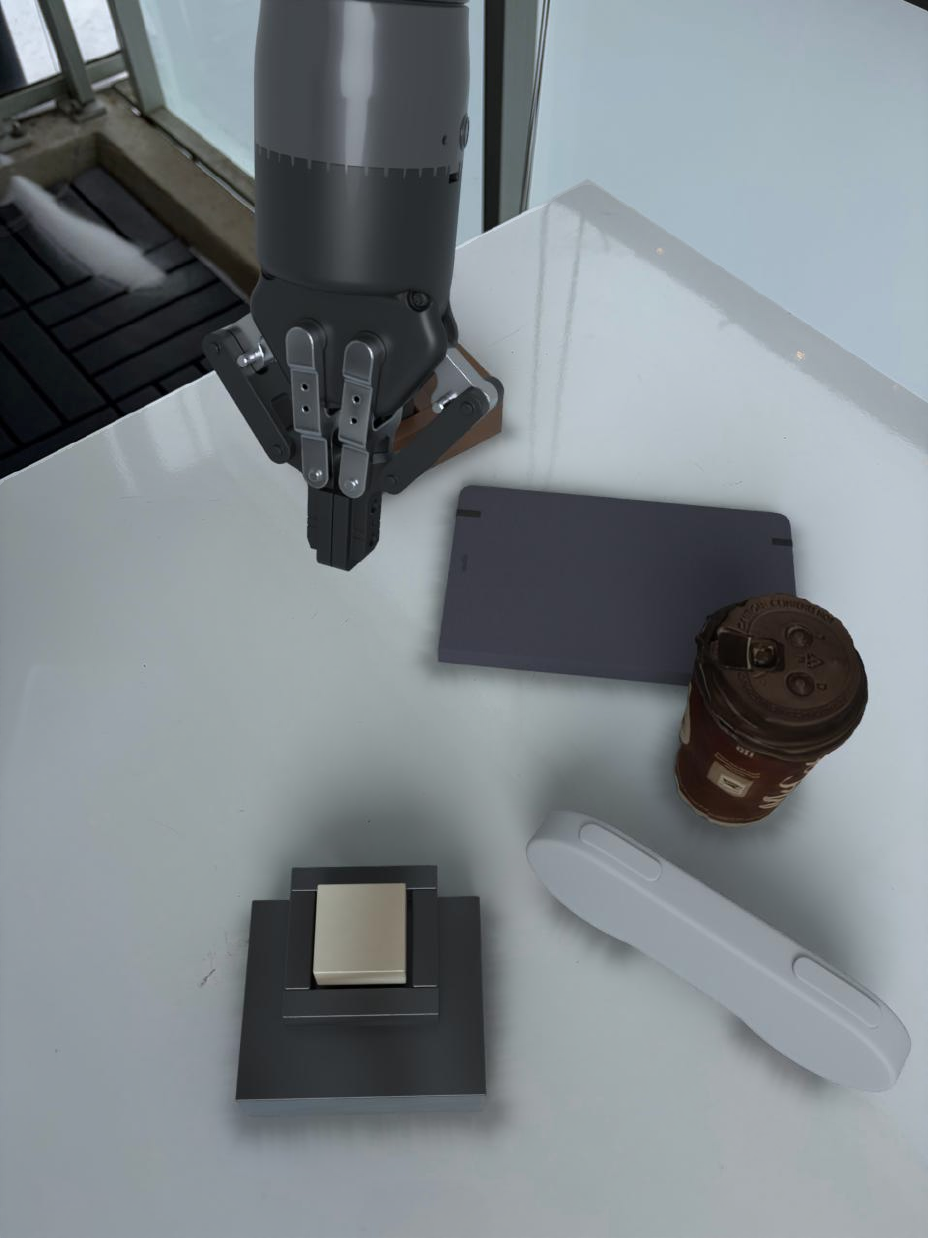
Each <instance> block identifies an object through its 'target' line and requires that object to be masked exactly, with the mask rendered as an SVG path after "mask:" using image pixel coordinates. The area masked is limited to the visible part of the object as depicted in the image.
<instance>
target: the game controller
mask: <svg viewBox="0 0 928 1238" xmlns="http://www.w3.org/2000/svg"><path fill="white" fill-rule="evenodd" d="M525 856H526V861H527V863H528V865H529V868H530V869H531V871H532V872H533V874H534V875H535V877H536V878H537V880H538V881H539V882H540V883H541V884H542V885H543V887H544V888H545V889H546V890H547V891H548V892H549V893H550V894H551V895H552V896H553V897H554V898H555V899H556V900H557V901H559V902H560V903H561V904H562V905H563V906H564V907H566V908H567V909H568V910H569V911H571V912H572V913H573V914H575V915H576V916H577V917H579V918H580V919H582V921H584V922H585V923H588V925H591V926H592V927H594V928H595V929H597V930H599V931H600V932H603V933H605V934H607V935H608V936H611V937H612V938H615V939H617V940H619V941H621V942H623V943H626V944H629V945H630V946H632V947H634V948H635V949H637V950H638V951H640V952H641V953H643V954H644V955H646V956H647V957H649V959H652V960H654V961H655V962H657V963H658V964H659V965H661V966H662V967H664V968H665V969H666V970H668V971H669V972H671V973H673V974H674V975H676V976H677V977H679V978H681V980H683V981H685V982H686V983H688V984H689V985H690V986H692V987H693V988H695V989H696V990H697V991H699V992H701V993H702V994H704V995H705V996H707V997H708V998H710V999H711V1000H713V1001H714V1002H716V1003H717V1004H719V1005H720V1006H722V1007H723V1008H725V1009H726V1010H728V1012H731V1013H732V1014H733V1015H735V1016H736V1017H737V1018H739V1019H740V1020H741V1021H742V1022H744V1024H746V1026H747V1027H748V1028H750V1029H751V1031H753V1032H754V1033H755V1034H756V1035H757V1037H758V1036H759V1038H761V1039H762V1041H763V1042H765V1043H766V1044H768V1045H769V1046H770V1047H772V1048H773V1049H774V1050H776V1051H778V1052H779V1053H780V1054H781V1055H783V1056H785V1057H786V1058H787V1059H789V1060H791V1061H792V1062H794V1063H796V1064H797V1065H799V1066H801V1068H804V1069H805V1070H808V1071H809V1072H812V1073H813V1074H815V1075H816V1076H819V1077H822V1078H824V1079H826V1080H827V1081H830V1082H833V1083H835V1084H838V1085H839V1086H842V1087H846V1088H849V1089H851V1090H852V1089H853V1090H856V1091H861V1092H866V1093H885V1092H888V1091H890V1090H891V1089H892V1088H894V1087H895V1085H897V1083H898V1080H899V1078H900V1077H901V1073H902V1071H903V1069H904V1067H905V1064H906V1062H907V1060H908V1058H909V1055H910V1053H911V1050H912V1041H911V1037H910V1034H909V1031H908V1029H907V1028H906V1026H905V1025H904V1023H903V1022H902V1020H901V1019H900V1017H898V1015H897V1014H896V1013H895V1012H894V1010H893V1009H891V1008H890V1006H889V1005H888V1004H886V1002H885V1001H883V1000H882V999H881V998H880V997H879V996H877V995H876V994H875V993H874V992H872V991H871V989H869V988H867V987H866V986H864V985H863V984H862V983H860V982H859V981H857V980H855V978H852V977H851V976H850V975H848V974H847V973H845V972H843V971H842V970H841V969H839V968H837V967H836V966H834V965H833V964H831V963H829V962H828V961H826V960H825V959H823V958H822V957H821V956H819V955H817V954H816V953H814V952H812V951H811V950H810V949H807V948H806V947H805V946H803V945H802V944H800V943H799V942H797V941H795V940H793V939H792V938H791V937H789V936H788V935H786V934H784V933H783V932H781V931H780V930H778V929H776V928H775V927H773V926H772V925H770V924H769V923H768V922H766V921H764V920H762V919H761V918H759V917H758V916H756V915H755V914H753V913H752V912H750V911H748V910H747V909H746V908H744V907H742V906H741V905H739V904H737V903H736V902H734V901H733V900H731V899H730V898H728V897H726V896H725V895H723V894H721V893H720V892H719V891H717V890H716V889H714V888H712V887H710V886H709V885H708V884H706V883H704V882H702V881H701V880H700V879H699V878H697V877H695V876H693V875H692V874H690V873H689V872H687V871H686V870H684V869H682V868H681V867H679V866H677V865H676V864H674V863H673V862H671V861H670V860H668V859H667V858H665V857H663V856H661V854H658V853H657V852H655V851H653V849H651V848H649V847H647V845H645V844H643V843H642V842H639V841H638V840H636V839H635V838H633V837H631V836H630V835H628V834H627V833H625V832H623V831H622V830H621V829H618V828H617V827H616V826H614V825H612V824H610V823H608V822H606V821H604V820H602V819H600V818H597V817H594V816H592V815H589V814H586V813H582V812H579V811H575V810H565V809H563V810H561V809H560V810H555V811H553V812H550V813H549V814H547V815H546V817H545V818H544V819H543V820H542V822H541V823H540V824H539V826H538V828H537V829H536V830H535V831H534V833H533V834H532V836H531V837H530V839H528V842H527V844H526V846H525Z"/></svg>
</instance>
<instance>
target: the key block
mask: <svg viewBox="0 0 928 1238" xmlns="http://www.w3.org/2000/svg"><path fill="white" fill-rule="evenodd" d="M378 883H405V884H406V895H407V955H406V983H405V984H364V985H318V984H317V981H316V979H315V976H314V973H313V965H314V946H315V927H316V907H317V888H318V885H320V884H378ZM438 888H439V887H438V865H437V864H412V865H354V866H353V865H352V866H351V865H349V866H348V865H347V866H346V865H345V866H344V865H343V866H342V865H341V866H294V867H292V868H291V874H290V888H289V889H290V890H289V891H290V893H289V899H252V901H251V907H250V908H251V909H250V920H249V921H250V922H249V933H248V943H247V944H248V945H247V954H246V955H247V957H246V966H245V967H246V968H245V978H244V979H245V980H244V991H243V1003H242V1014H241V1015H242V1016H241V1027H240V1039H239V1050H238V1062H237V1072H236V1073H237V1074H236V1084H235V1085H236V1086H235V1097H234V1098H235V1099H234V1100H235V1102H236V1103H237V1104H238V1106H239V1107H240V1108H241V1109H242V1110H243V1111H244V1112H245V1114H247V1115H248V1117H251V1118H254V1117H255V1118H256V1117H258V1118H259V1117H292V1116H295V1117H296V1116H297V1117H298V1116H336V1115H337V1116H340V1115H341V1116H342V1115H343V1116H344V1115H345V1116H346V1115H381V1114H382V1115H384V1114H387V1115H388V1114H428V1113H429V1114H430V1113H467V1112H469V1113H470V1112H474V1113H475V1112H483V1111H484V1108H485V1103H486V1097H487V1074H486V1044H485V1043H486V1041H485V1012H484V1011H485V1010H484V983H483V954H482V953H483V952H482V951H483V950H482V925H481V924H482V923H481V922H482V921H481V896H479V895H472V896H471V895H469V896H467V895H466V896H465V895H463V896H438V894H439V890H438Z"/></svg>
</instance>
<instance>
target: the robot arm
mask: <svg viewBox="0 0 928 1238" xmlns="http://www.w3.org/2000/svg"><path fill="white" fill-rule="evenodd" d="M470 1H471V0H260V4H259V13H258V23H257V31H256V38H255V45H254V46H255V47H254V59H253V60H254V61H253V63H254V64H253V135H254V137H253V141H254V142H253V145H254V146H253V147H254V148H253V149H254V150H253V151H254V158H253V159H254V164H253V165H254V254H255V257H256V260H257V262H258V265H260V273H259V277H258V281H257V283H256V285H255V287H254V289H253V290H252V292H251V295H250V299H249V311H250V312H249V313H248V314H246V315H244V316H242V317H241V318H240V319H238V320H237V321H235V322H233V323H231V324H228V325H226V326H223V327H221V328H219V329H217V330H214V331H212V332H210V333H208V334H206V335H205V336H204V337H203V339H202V342H201V348H202V352H203V354H204V356H205V357H206V359H207V361H208V362H209V364H210V366H211V367H212V368H213V370H214V372H215V373H216V374H217V376H218V379H219V380H220V382H221V383H222V385H223V386H224V388H225V390H226V391H227V393H228V394H229V397H231V400H232V401H233V402H234V404H235V406H236V408H237V409H238V411H239V412H240V414H241V416H242V417H243V419H244V420H245V422H246V424H247V425H248V427H249V429H250V431H251V432H252V434H253V435H254V437H255V438H256V440H257V441H258V443H259V444H260V447H261V448H262V450H263V451H264V453H265V455H266V456H267V457H268V459H269V460H270V461H271V462H273V463H275V464H277V465H283V464H288V465H290V466H291V467H293V468H294V469H296V470H298V471H299V472H300V473H301V474H302V477H303V480H304V481H305V483H306V484H307V507H306V508H307V511H306V513H307V514H306V516H307V517H306V524H307V525H306V538H307V542H308V544H309V547H310V549H312V550H316V551H315V552H316V553H315V554H316V555H315V556H316V557H315V558H316V562H317V564H320V565H323V566H327V567H331V568H335V569H337V570H341V571H345V572H351V571H352V570H353V569H354V568H355V567H356V566H357V565H358V564H359V563H362V562H363V561H364V560H365V559H366V558H367V557H368V556H369V555H371V554H372V552H373V551H374V550H375V549H376V547H377V545H378V543H379V542H380V535H381V533H380V532H381V529H380V528H381V515H382V500H383V494H382V491H385V493H387V494H389V495H393V496H394V495H395V496H396V495H399V494H401V493H402V492H403V491H404V490H405V489H407V488H408V487H409V486H410V485H411V484H412V483H414V481H415V480H416V479H417V478H419V477H421V476H422V475H423V474H425V472H427V471H428V470H427V469H428V468H429V467H430V466H432V465H433V464H434V463H435V462H436V461H437V460H438V459H439V458H440V457H441V456H442V455H443V454H444V453H446V452H447V451H448V450H449V449H450V448H451V447H452V446H453V445H454V444H455V443H456V442H457V441H458V440H460V439H461V438H462V437H463V436H464V435H465V434H466V433H467V432H468V431H469V430H470V429H471V428H472V427H473V426H475V425H476V424H477V423H478V422H479V421H480V420H481V419H482V418H483V417H484V416H485V415H486V414H487V413H489V412H490V411H491V410H492V409H493V408H494V407H495V406H496V405H497V404H498V403H499V402H500V401H501V400H502V399H503V400H504V398H503V396H505V388H504V385H503V383H502V382H501V380H500V379H499V378H497V377H496V376H493V375H491V376H483V377H481V376H480V375H479V374H478V373H477V371H476V370H475V369H474V368H473V367H472V366H471V365H470V363H469V362H468V361H467V360H466V359H465V358H464V357H463V356H462V354H461V353H460V352H459V351H458V350H457V349H456V346H457V343H459V336H460V335H459V327H458V324H457V321H456V319H455V317H454V313H453V310H452V306H451V290H452V283H453V278H454V271H455V270H454V269H455V259H456V258H455V257H456V246H457V236H458V225H459V213H460V204H461V203H460V202H461V190H462V180H463V179H462V178H463V169H464V157H465V149H466V148H467V145H468V142H469V134H470V117H469V114H468V113H469V100H470V87H471V85H470V84H471V56H470V55H471V54H470V28H469V27H470V25H469V24H470V7H469V5H466V4H469V2H470ZM434 374H436V377H437V386H436V389H435V390H434V392H433V393H432V395H431V406H432V410H433V412H434V413H436V414H437V416H436V417H435V418H434V419H433V420H432V421H431V422H430V423H429V424H428V425H427V426H426V427H425V428H424V429H423V430H422V431H421V432H420V433H419V434H418V435H417V436H416V437H415V438H414V439H413V440H411V441H410V442H409V443H408V444H407V445H406V446H405V447H404V448H403V449H402V450H401V451H395V452H392V448H393V441H394V435H395V432H396V430H397V428H398V426H399V424H400V421H401V416H402V409H403V406H404V405H405V404H407V403H408V402H409V401H410V400H411V399H412V398H413V397H414V396H415V394H416V393H417V392H418V391H419V390H420V389H421V388H422V387H423V386H424V385H425V384H426V382H427V381H428V380H429V379H430V378H431V377H432V376H433V375H434ZM426 470H427V471H426Z"/></svg>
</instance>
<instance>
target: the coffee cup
mask: <svg viewBox="0 0 928 1238" xmlns="http://www.w3.org/2000/svg"><path fill="white" fill-rule="evenodd" d="M706 619H707V621H706V622H705V623H704V624H703V628H702V629H701V631H700V634H698V635H697V636H696V637H695V642H696V644H697V656H696V659H695V661H694V667H693V671H692V676H691V680H690V684H689V686H688V689H687V697H686V705H685V708H684V712H683V717H682V720H681V723H680V727H679V733H678V738H679V743H680V745H679V747H678V749H677V752H676V755H675V761H674V762H675V763H674V768H673V776H674V778H675V783H676V788H677V794H678V795H679V798H681V800H682V801H684V802H685V803H686V804H687V805H688V806H689V807H690V808H691V810H693V812H694V813H695V814H696V815H697V816H699V817H702V818H705V820H706V821H707V822H709V823H710V824H714V825H718V826H721V827H724V828H739V827H742V826H747V825H751V824H754V823H757V822H761V821H763V820H764V819H766V818H768V817H769V816H770V815H772V814H773V813H774V812H776V811H777V809H778V808H779V806H780V805H781V804H782V803H783V802H784V800H786V798H787V796H788V795H790V794H792V792H794V791H795V789H796V788H797V787H798V786H799V785H800V783H801V782H802V781H803V780H804V779H805V778H806V776H808V774H809V773H810V772H811V771H812V769H814V768H815V766H816V765H818V763H819V762H820V761H821V760H822V759H823V758H824V757H825V756H827V755H830V754H831V753H833V752H835V751H837V750H838V749H839V748H840V747H843V745H844V744H846V742H847V741H848V740H849V739H850V738H851V737H852V735H853V734H854V732H855V730H856V729H857V728H858V726H859V725H861V722H862V720H863V717H864V714H865V712H866V709H867V704H868V702H869V681H868V676H867V672H866V667H865V664H864V660H863V659H862V657H861V655H860V652H859V651H858V649H857V648H856V646H855V643H854V639H853V638H852V635H851V634H850V632H849V630H848V628H846V626H844V624H843V622H842V620H841V619H839V618H838V617H836V616H834V615H833V614H832V613H831V612H830V611H828V609H826V608H823V607H822V606H820V605H818V604H815V603H812V602H811V601H809V600H808V599H807V598H802V597H798V596H797V595H796V596H794V595H789V594H784V593H776V594H775V595H773V596H770V595H764V596H762V595H760V596H759V597H757V598H754V597H752V598H750V599H748V600H745V601H742V602H738V603H733V604H730V605H728V606H725V607H723V608H721V609H719V610H717V611H715V612H714V613H713V614H711V615H708V616H706Z"/></svg>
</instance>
